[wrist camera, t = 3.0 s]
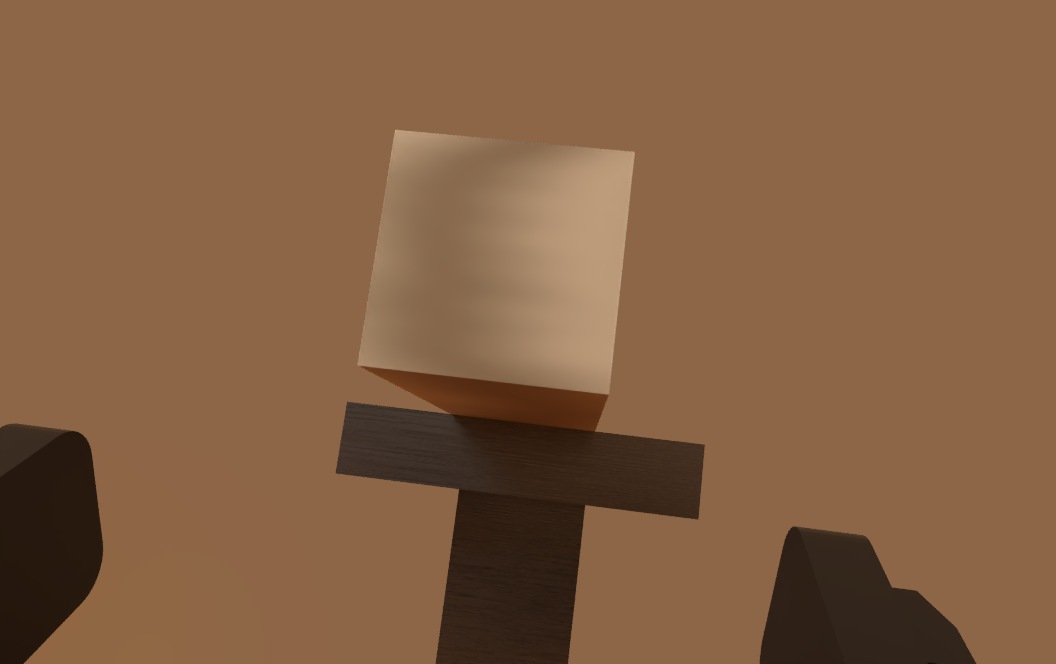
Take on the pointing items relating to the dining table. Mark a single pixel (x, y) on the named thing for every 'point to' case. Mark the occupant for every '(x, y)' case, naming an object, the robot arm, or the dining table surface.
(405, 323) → the tan wooden block
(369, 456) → the pedestal
